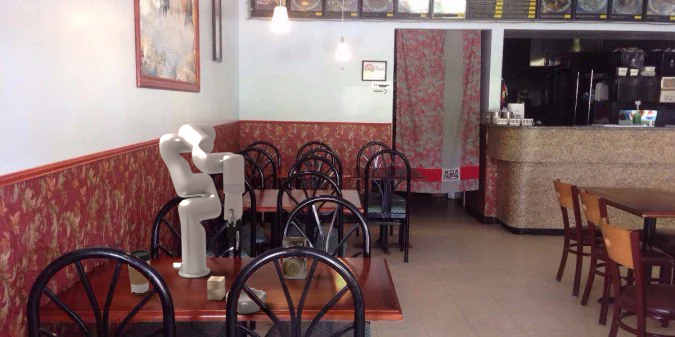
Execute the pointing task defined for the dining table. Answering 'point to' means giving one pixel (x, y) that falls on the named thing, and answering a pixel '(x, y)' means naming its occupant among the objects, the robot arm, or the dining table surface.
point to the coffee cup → (136, 278)
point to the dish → (249, 301)
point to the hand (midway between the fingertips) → (234, 234)
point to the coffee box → (295, 260)
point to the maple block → (216, 288)
